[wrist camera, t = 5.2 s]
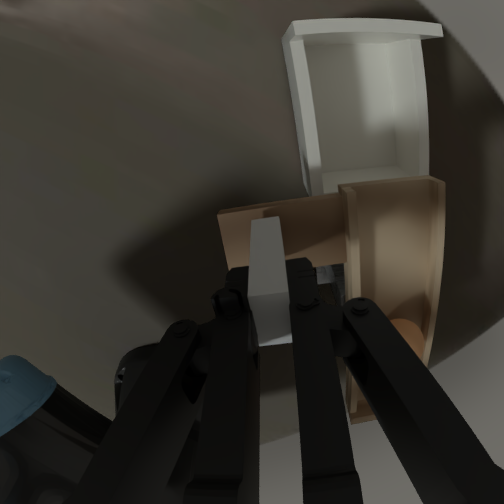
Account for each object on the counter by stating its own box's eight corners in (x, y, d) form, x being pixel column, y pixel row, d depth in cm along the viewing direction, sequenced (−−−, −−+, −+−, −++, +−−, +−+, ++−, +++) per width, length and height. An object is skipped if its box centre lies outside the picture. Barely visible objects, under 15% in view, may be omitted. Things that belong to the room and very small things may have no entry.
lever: (403, 371, 26) (420, 408, 22) (264, 394, 27) (263, 435, 23) (415, 169, 19) (450, 184, 15) (222, 194, 21) (209, 215, 16)
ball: (383, 362, 17) (369, 313, 19) (374, 386, 19) (363, 341, 22) (438, 349, 16) (420, 302, 19) (422, 375, 19) (409, 332, 21)
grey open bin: (303, 182, 26) (320, 225, 19) (281, 39, 20) (292, 20, 13) (401, 171, 25) (448, 209, 18) (390, 35, 19) (441, 24, 12)
